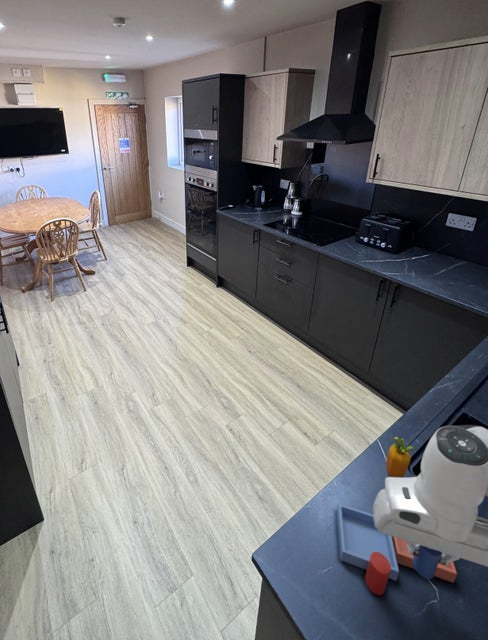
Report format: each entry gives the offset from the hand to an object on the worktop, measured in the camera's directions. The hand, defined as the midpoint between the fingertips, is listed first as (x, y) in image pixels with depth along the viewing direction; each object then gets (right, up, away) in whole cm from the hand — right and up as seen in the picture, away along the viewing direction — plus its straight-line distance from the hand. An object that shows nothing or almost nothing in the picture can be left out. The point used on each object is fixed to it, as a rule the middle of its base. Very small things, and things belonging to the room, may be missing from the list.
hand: (426, 555), depth 63 cm
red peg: (-8, -9, +4) cm, 13 cm away
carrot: (+8, -3, +23) cm, 24 cm away
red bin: (+5, -7, +10) cm, 13 cm away
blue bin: (-7, -7, +10) cm, 14 cm away
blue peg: (0, -3, +1) cm, 4 cm away
